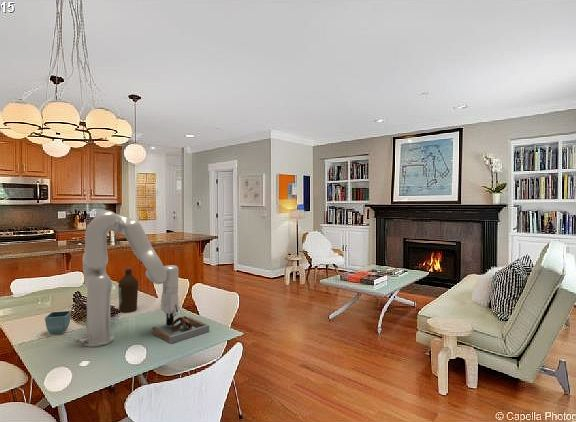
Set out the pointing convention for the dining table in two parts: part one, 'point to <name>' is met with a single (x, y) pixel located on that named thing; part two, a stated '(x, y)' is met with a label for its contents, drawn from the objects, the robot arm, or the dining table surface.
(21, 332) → the dining table surface
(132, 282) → the olive oil
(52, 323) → the flower pot
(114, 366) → the dining table surface
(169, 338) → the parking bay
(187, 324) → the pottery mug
